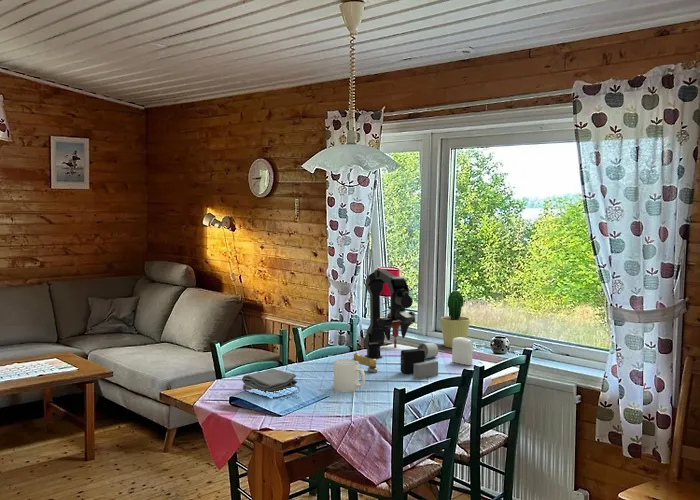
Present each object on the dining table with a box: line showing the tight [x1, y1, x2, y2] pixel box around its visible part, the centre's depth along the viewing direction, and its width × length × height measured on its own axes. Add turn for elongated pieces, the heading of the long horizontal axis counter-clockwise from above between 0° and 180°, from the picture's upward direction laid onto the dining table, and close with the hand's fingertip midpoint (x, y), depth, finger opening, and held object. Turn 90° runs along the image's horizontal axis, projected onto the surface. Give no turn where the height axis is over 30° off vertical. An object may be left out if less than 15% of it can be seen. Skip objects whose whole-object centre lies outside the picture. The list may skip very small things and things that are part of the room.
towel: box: [241, 368, 298, 394], centre depth 271 cm, size 15×18×8 cm
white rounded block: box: [451, 337, 474, 366], centre depth 323 cm, size 10×4×12 cm, turn 44°
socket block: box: [412, 359, 439, 380], centre depth 298 cm, size 3×12×6 cm, turn 128°
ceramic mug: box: [416, 342, 439, 360], centre depth 335 cm, size 11×8×8 cm
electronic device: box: [399, 348, 426, 375], centre depth 304 cm, size 4×10×10 cm, turn 115°
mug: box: [333, 359, 366, 393], centre depth 276 cm, size 14×10×11 cm
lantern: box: [386, 312, 401, 349], centre depth 356 cm, size 10×10×30 cm
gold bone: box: [353, 353, 377, 368], centre depth 309 cm, size 14×3×4 cm, turn 38°
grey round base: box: [367, 367, 378, 374], centre depth 305 cm, size 4×4×2 cm
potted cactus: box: [440, 290, 471, 349], centre depth 362 cm, size 15×15×30 cm
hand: (396, 339), depth 310 cm, fingers open, 9 cm apart
